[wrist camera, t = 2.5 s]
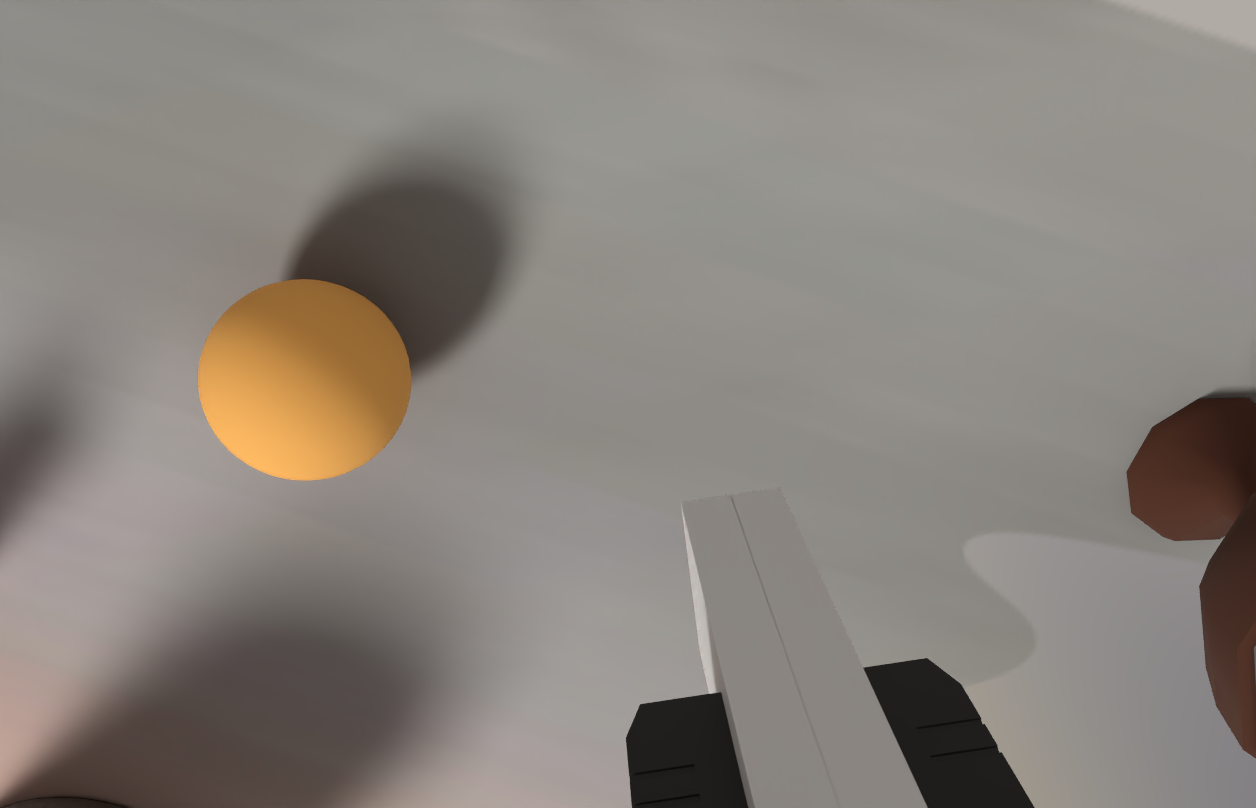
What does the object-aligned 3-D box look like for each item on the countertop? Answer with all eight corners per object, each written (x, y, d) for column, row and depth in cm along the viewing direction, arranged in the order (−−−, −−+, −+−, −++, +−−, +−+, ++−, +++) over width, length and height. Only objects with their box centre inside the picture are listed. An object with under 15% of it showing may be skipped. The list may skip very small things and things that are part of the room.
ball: (266, 442, 29) (205, 532, 24) (212, 273, 27) (131, 332, 22) (440, 415, 29) (415, 500, 24) (400, 244, 27) (363, 297, 22)
